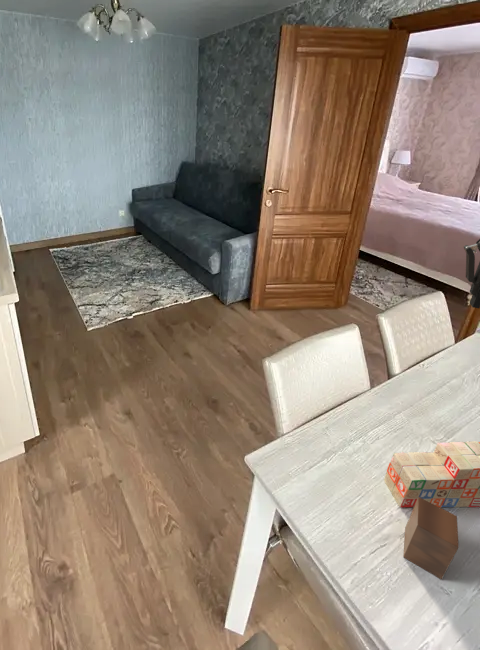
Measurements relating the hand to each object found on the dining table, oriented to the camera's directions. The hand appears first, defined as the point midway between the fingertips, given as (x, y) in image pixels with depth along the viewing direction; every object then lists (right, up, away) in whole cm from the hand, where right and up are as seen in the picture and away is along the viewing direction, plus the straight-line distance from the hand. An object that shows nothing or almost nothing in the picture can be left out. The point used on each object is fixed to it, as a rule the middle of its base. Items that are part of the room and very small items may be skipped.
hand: (474, 305), depth 95 cm
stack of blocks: (-24, -39, -18) cm, 49 cm away
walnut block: (-35, -43, -29) cm, 62 cm away
